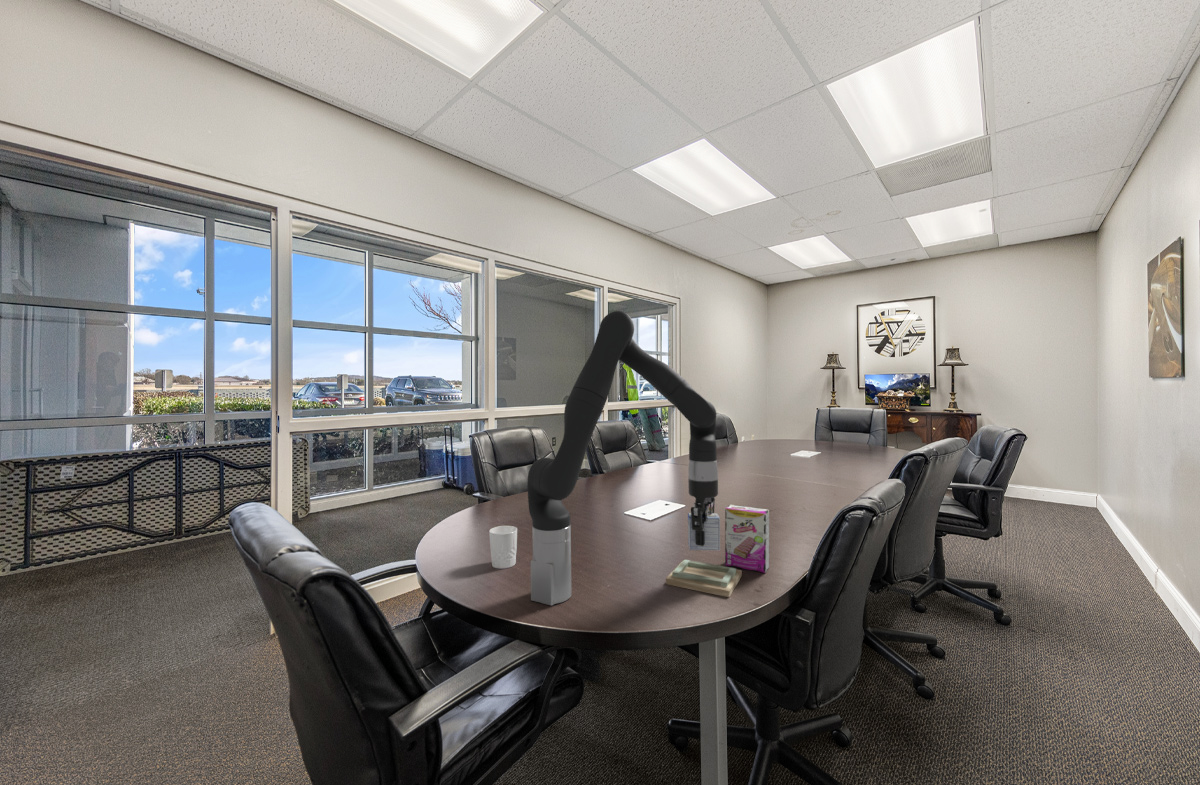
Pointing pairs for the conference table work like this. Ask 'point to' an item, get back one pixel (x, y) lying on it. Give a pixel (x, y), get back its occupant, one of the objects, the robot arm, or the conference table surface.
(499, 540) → the white cup
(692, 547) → the medicine box
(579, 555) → the conference table surface
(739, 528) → the candy bar box
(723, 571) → the locating plate
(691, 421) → the robot arm
